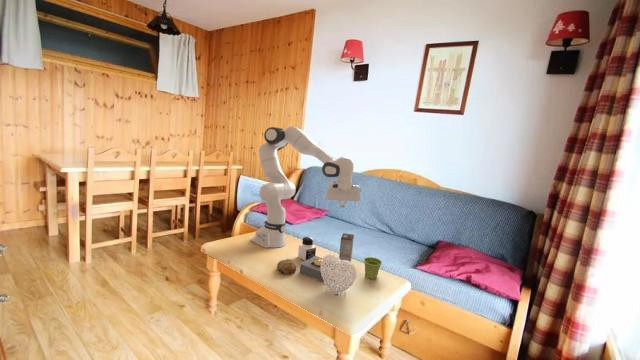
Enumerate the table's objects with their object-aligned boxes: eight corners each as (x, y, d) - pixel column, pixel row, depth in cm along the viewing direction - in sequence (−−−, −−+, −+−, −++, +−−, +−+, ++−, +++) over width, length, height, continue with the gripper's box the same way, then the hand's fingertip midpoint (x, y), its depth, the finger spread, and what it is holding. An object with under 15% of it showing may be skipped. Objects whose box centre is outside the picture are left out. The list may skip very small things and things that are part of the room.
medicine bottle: (305, 261, 174) (307, 241, 172) (297, 256, 179) (299, 236, 178) (315, 258, 179) (317, 238, 177) (307, 254, 184) (309, 234, 182)
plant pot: (383, 277, 163) (385, 262, 162) (373, 282, 157) (375, 266, 155) (369, 270, 170) (370, 255, 168) (358, 275, 163) (360, 259, 162)
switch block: (299, 273, 160) (300, 263, 159) (314, 264, 172) (315, 255, 171) (322, 282, 153) (323, 272, 152) (336, 272, 165) (337, 263, 164)
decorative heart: (312, 290, 144) (316, 255, 142) (326, 282, 153) (329, 249, 150) (345, 306, 134) (350, 268, 131) (358, 296, 142) (362, 261, 140)
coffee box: (340, 259, 182) (343, 232, 179) (351, 261, 181) (354, 234, 178) (337, 265, 173) (340, 237, 170) (349, 267, 172) (352, 239, 169)
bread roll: (274, 277, 161) (272, 266, 156) (283, 262, 169) (281, 252, 164) (292, 282, 158) (290, 271, 153) (300, 267, 165) (298, 256, 161)
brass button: (310, 266, 161) (311, 260, 160) (317, 262, 166) (317, 256, 165) (320, 270, 158) (321, 263, 157) (326, 266, 163) (327, 259, 162)
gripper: (359, 184, 188) (357, 207, 191) (326, 182, 185) (324, 205, 187) (362, 186, 182) (360, 209, 185) (328, 184, 179) (325, 208, 181)
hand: (341, 207), depth 186 cm, fingers closed
